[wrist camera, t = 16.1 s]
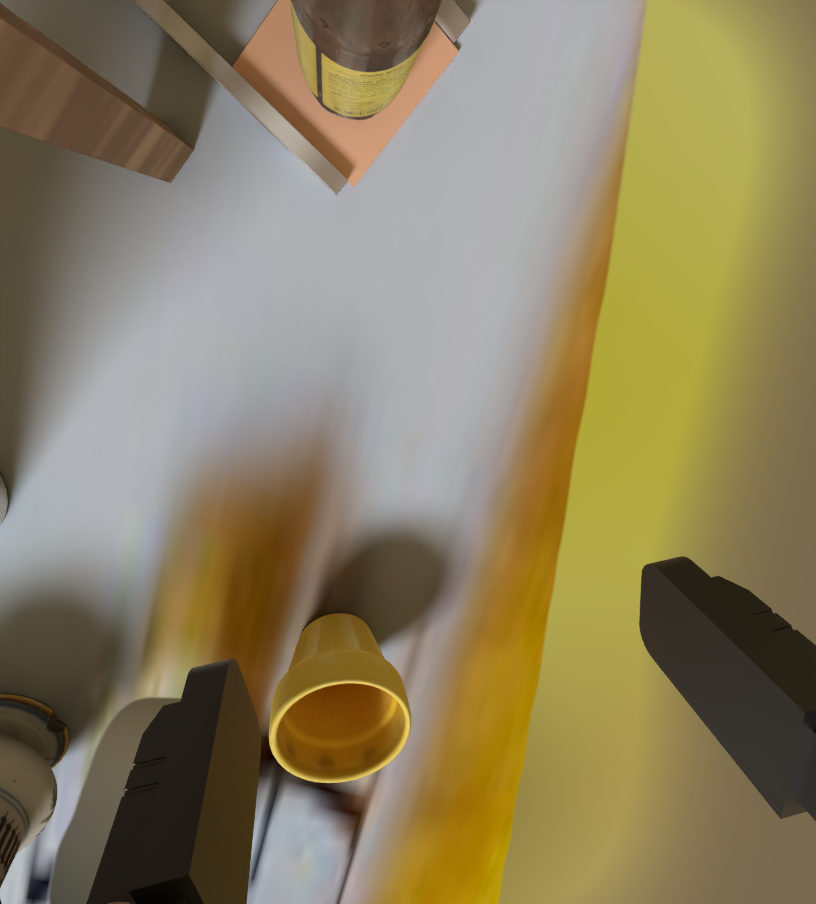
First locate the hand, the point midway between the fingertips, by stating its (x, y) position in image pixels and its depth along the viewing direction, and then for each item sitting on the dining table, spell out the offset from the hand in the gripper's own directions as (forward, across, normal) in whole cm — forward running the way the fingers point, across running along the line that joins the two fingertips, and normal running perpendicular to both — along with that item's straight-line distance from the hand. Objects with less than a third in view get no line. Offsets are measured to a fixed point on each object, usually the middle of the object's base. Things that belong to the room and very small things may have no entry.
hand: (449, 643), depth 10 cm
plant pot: (+30, +6, +26) cm, 40 cm away
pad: (+30, -3, -16) cm, 34 cm away
